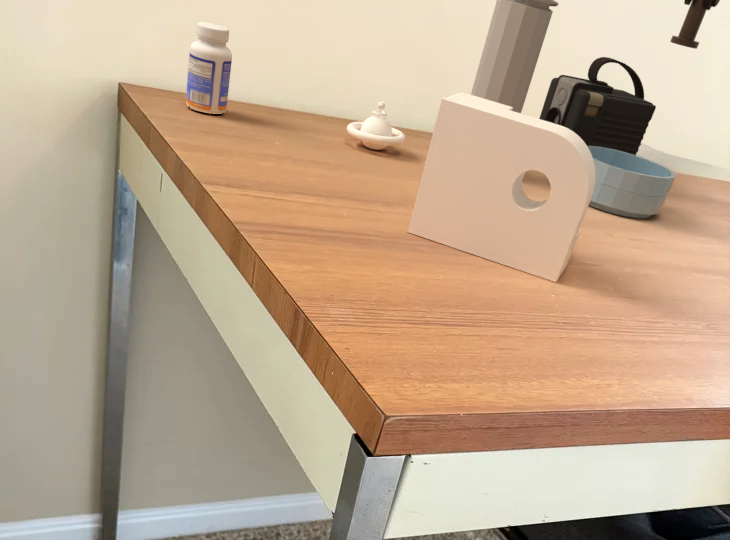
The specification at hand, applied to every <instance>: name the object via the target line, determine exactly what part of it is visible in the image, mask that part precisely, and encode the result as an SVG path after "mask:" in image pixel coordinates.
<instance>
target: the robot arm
mask: <svg viewBox="0 0 730 540" xmlns="http://www.w3.org/2000/svg"><path fill="white" fill-rule="evenodd" d="M691 2H692V0H684V1H683V4H684V5H686V6H690V5H691ZM720 2H721V0H706V3H705V8H704V9H706V11H710V10H711V9H712V8H715V7H717V6H718V5H719V3H720Z"/></svg>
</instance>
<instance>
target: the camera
mask: <svg viewBox="0 0 730 540" xmlns="http://www.w3.org/2000/svg"><path fill="white" fill-rule="evenodd" d="M610 63H611V64H612V63H614V64H618V65H620V67H622V68H623V69H624V70H625V71H626V72H627V74H628V76H629V77H630V79H631V81H632V85H633V88H634V94H633V93H630V92H628V91H626V90H623V89H618V88H615V87H613V86H611V85H609V83H608V82H606V81H604V80H598V74H599V71H600V69H601V68H602V67H603V66H604V65H606V64H610ZM656 108H657V106H656V105H655V104H654V103H653V102H651V101H648V100H647V99H645V90H644V85H643V82H642V81H641V78H640V76H639V75H638V74H637V72H636V71H635V70H634V69H633V67H631V66H629V65H628V64H626V63H625V62H623V61H620V60H618V59H615V58H612V57H609V56H608V57H607V56H600V57H597V58H596V59H594V60H593V61H592V63H591V64H590V66H589V68H588V71H587V78H582V77H577V76H572V75H567V74H561V75H559V76H558V77H553V78H552V79H551V81H550V84H549V87H548V90H547V93H546V96H545V99H544V102H543V106H542V109H541V112H540V115H539V118H538V119H541V120H544V121H548V122H551V123H554V124H558V125H561V126H563V127H566V128H568V129H570V130H572V131H573V132H575V133H576V134H577V135H578V136H579V137H580V138H581V139H582V140H583V141H584V142H585V144H586V145H587V146H589V145H590V146H600V147H605V148H611V149H615V150H619V151H623V152H627V153H631V154H634V155H637V154H638V152H639V149H640V146H641V145H642V141H643V140H644V136H645V134H646V133H647V128H648V127H649V124H650V121H651V120H652V119H653V116H654V114H655V111H656Z"/></svg>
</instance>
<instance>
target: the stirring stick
mask: <svg viewBox="0 0 730 540" xmlns="http://www.w3.org/2000/svg"><path fill="white" fill-rule="evenodd" d="M705 3H706V0H692V1H691V3H690V5H689V8H688V10H687V13H686V15H685V17H684V21H683V23H682V25H681V28H680V31H679V32H678V35H672V36H671V38H670V43H672V44H676V45H679V46H682V47H686V48H691V49H696V50H697V49H698V47H699V45H700V42H699V41H697V40H696V37H697V35H698V32H699V30H700V28H701V25H702V22H703V20H704V17H705V15H706V12H707V10H706V9H704V8H705Z"/></svg>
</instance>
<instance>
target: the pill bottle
mask: <svg viewBox="0 0 730 540" xmlns="http://www.w3.org/2000/svg"><path fill="white" fill-rule="evenodd" d="M196 37H197V40H196V41H193V42H192V43H191V44H190V46H189V54H188V67H187V68H188V69H187V81H186V93H185V105H186V104H187V105H188V106H190V107H192V108H195V109H198V110H202V111H207V112H211V113H224V112H225V113H226V112H227V107H228V99H229V90H230V80H231V72H232V71H231V70H232V60H233V53H232V51H231V49H230V48H229V47H227V43H228V42H229V39H230V29H229V28H227V27H226V26H223V25H220V24H216V23H213V22H212V23H211V22H206V21H200V22H197V25H196ZM225 113H224V114H225Z"/></svg>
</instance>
